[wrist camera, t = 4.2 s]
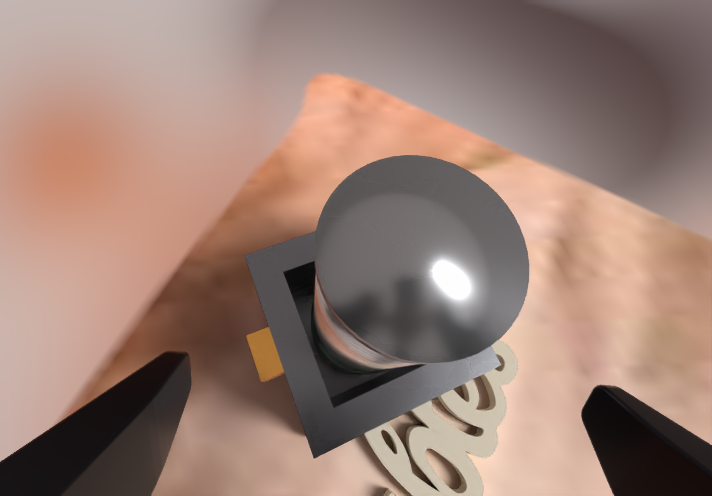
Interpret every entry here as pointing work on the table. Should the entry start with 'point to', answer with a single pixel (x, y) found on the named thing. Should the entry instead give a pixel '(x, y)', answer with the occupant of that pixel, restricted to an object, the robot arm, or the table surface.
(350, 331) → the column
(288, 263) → the stand collar
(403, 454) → the decorative sign
